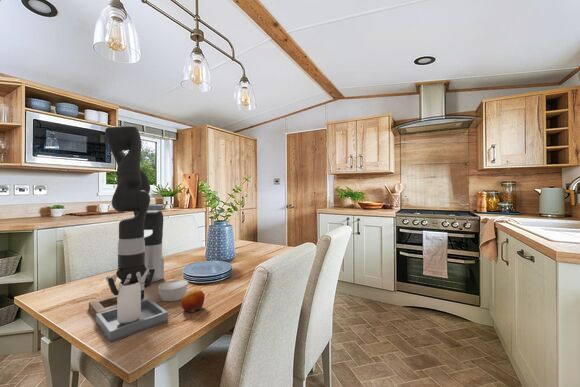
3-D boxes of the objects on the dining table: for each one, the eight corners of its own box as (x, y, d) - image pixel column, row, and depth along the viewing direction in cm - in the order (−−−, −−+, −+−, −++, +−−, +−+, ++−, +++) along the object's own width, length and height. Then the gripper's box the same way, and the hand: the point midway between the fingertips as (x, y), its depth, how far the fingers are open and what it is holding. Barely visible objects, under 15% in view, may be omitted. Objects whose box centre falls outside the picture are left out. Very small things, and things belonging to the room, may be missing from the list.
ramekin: (182, 289, 112) (182, 277, 112) (192, 297, 104) (192, 284, 104) (154, 296, 104) (154, 283, 104) (163, 305, 96) (163, 291, 96)
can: (132, 324, 80) (132, 286, 79) (112, 323, 80) (112, 285, 80) (145, 314, 86) (145, 278, 86) (126, 313, 86) (126, 278, 86)
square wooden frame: (127, 298, 103) (127, 291, 103) (138, 307, 94) (138, 300, 94) (88, 308, 93) (88, 301, 93) (97, 320, 85) (97, 312, 85)
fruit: (194, 313, 87) (186, 291, 89) (181, 320, 91) (174, 298, 93) (213, 304, 94) (205, 283, 96) (200, 311, 97) (193, 290, 100)
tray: (148, 306, 95) (148, 298, 95) (167, 321, 85) (167, 312, 85) (96, 323, 83) (96, 313, 83) (110, 342, 73) (110, 331, 73)
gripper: (150, 246, 92) (150, 294, 92) (102, 253, 81) (102, 307, 81) (159, 249, 87) (159, 299, 87) (108, 257, 76) (108, 315, 76)
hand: (131, 303), depth 84 cm, fingers closed on can, 4 cm apart
